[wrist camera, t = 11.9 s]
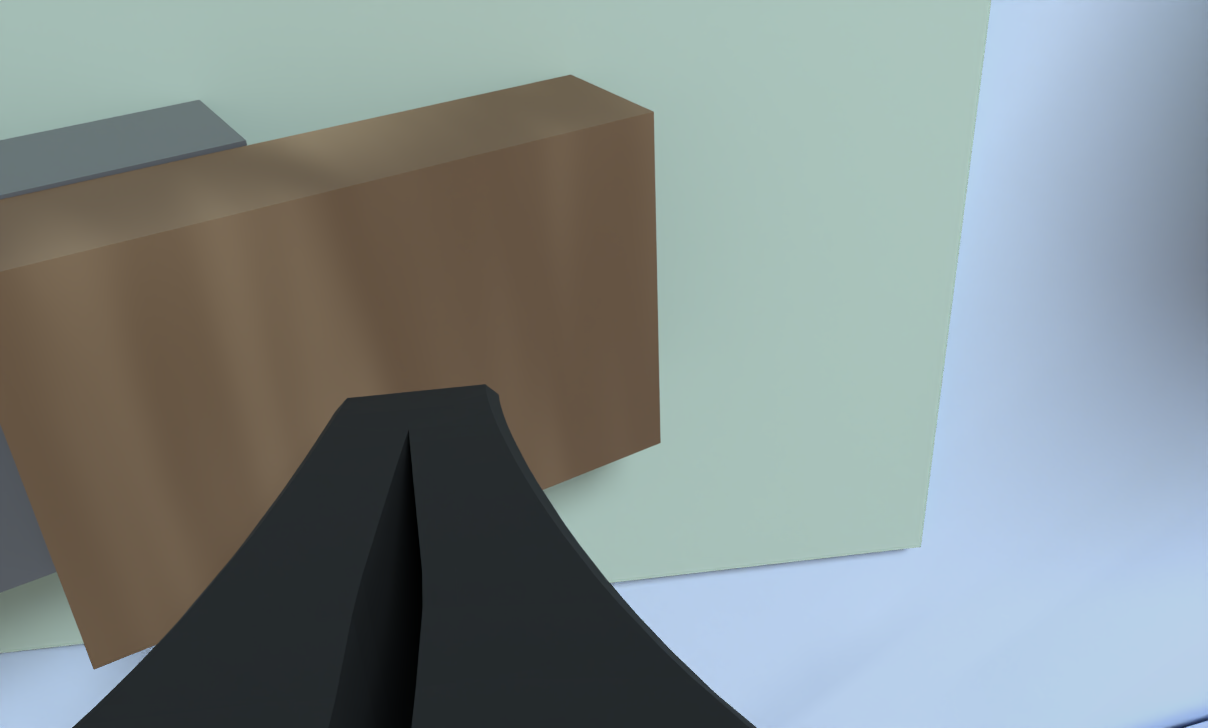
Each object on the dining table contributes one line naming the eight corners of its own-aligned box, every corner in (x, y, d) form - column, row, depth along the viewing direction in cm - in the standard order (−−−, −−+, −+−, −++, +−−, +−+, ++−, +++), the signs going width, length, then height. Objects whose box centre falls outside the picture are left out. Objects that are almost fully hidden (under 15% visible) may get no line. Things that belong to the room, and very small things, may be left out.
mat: (1020, -320, 12) (1032, -321, 12) (914, 535, 18) (920, 547, 18) (-1604, -183, 10) (-1654, -180, 10) (-744, 725, 16) (-762, 741, 16)
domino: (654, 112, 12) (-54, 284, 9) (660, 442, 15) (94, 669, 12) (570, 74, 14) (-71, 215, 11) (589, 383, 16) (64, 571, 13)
